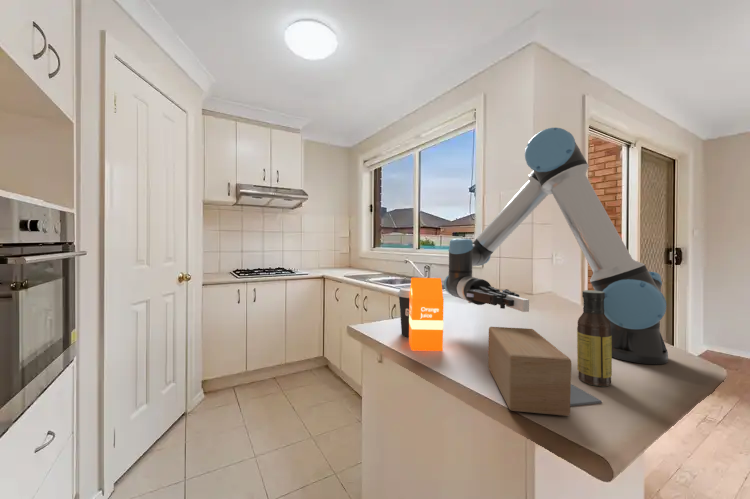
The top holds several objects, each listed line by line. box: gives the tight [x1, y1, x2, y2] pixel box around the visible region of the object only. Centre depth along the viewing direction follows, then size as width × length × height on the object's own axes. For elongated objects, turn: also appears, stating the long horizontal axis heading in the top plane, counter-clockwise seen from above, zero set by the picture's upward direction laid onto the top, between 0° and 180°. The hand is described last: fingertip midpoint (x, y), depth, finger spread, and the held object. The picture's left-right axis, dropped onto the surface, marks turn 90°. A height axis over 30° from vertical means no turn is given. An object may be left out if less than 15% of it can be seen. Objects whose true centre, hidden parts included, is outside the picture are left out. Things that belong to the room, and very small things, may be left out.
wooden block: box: [487, 326, 572, 416], centre depth 64 cm, size 10×10×20 cm
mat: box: [570, 383, 603, 407], centre depth 65 cm, size 14×12×1 cm
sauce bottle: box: [576, 289, 613, 387], centre depth 69 cm, size 6×6×20 cm
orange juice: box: [408, 277, 444, 352], centre depth 91 cm, size 8×9×20 cm
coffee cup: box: [397, 286, 411, 338], centre depth 103 cm, size 10×10×15 cm
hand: (526, 305), depth 71 cm, fingers closed
